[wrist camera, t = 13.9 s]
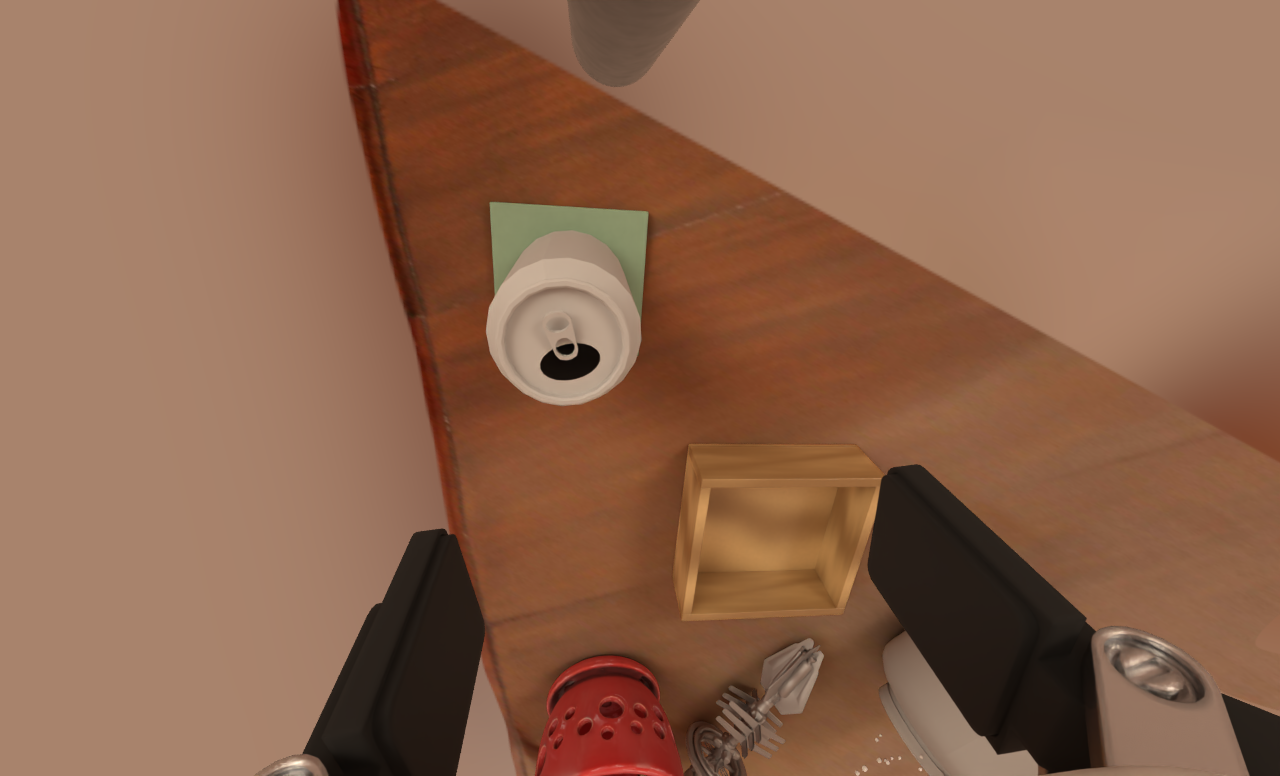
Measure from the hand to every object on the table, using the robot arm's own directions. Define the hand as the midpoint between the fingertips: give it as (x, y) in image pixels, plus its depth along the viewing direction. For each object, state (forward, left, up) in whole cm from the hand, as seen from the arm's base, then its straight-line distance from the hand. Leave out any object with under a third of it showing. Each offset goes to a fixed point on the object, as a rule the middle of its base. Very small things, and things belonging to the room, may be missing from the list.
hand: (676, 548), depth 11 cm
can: (0, -3, -25) cm, 25 cm away
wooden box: (+20, +14, -26) cm, 36 cm away
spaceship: (+50, +13, -26) cm, 58 cm away
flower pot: (+42, +1, -26) cm, 49 cm away
